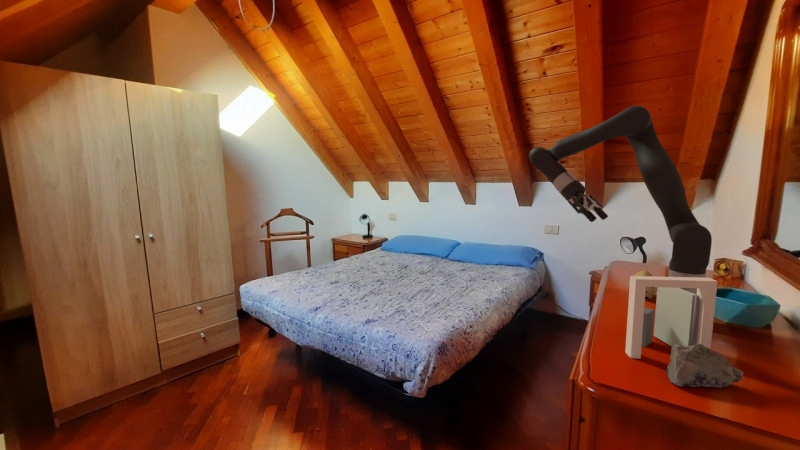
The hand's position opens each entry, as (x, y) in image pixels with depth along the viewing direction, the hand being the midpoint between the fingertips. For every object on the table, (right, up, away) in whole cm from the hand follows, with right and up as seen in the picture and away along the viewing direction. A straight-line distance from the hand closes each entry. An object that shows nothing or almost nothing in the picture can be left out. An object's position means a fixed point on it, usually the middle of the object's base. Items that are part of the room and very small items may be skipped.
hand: (600, 219), depth 115 cm
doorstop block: (+1, -37, -17) cm, 41 cm away
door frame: (+2, -38, -26) cm, 46 cm away
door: (+8, -36, -22) cm, 43 cm away
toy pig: (+28, -31, +18) cm, 46 cm away
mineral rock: (0, -40, -38) cm, 55 cm away
